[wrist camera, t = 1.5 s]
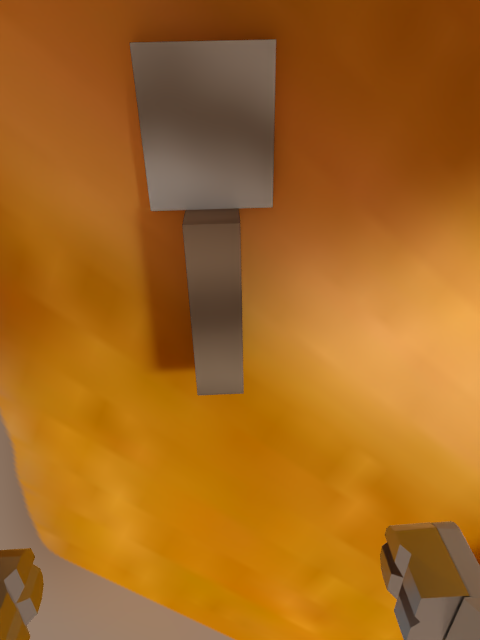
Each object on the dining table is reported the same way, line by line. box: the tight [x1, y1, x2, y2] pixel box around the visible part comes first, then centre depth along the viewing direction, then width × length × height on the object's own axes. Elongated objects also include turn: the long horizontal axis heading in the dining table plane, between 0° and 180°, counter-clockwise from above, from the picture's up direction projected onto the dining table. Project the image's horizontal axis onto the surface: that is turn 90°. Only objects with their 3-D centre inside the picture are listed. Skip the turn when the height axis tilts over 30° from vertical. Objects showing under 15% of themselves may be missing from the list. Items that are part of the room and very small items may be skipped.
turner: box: [130, 39, 276, 395], centre depth 22 cm, size 17×6×3 cm, turn 1°
